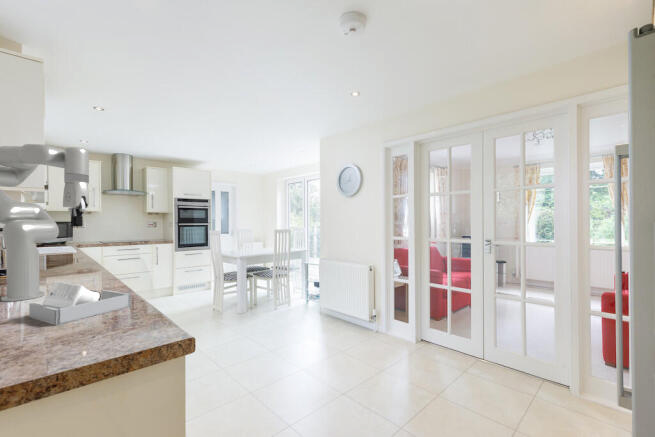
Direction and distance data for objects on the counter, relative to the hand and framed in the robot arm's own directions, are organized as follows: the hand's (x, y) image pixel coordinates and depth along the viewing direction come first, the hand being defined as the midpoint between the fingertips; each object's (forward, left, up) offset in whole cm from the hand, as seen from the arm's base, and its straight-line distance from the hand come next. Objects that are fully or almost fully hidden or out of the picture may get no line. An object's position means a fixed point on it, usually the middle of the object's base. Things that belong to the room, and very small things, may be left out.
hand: (76, 226), depth 121 cm
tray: (+20, -7, -29) cm, 36 cm away
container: (+17, -15, -21) cm, 31 cm away
